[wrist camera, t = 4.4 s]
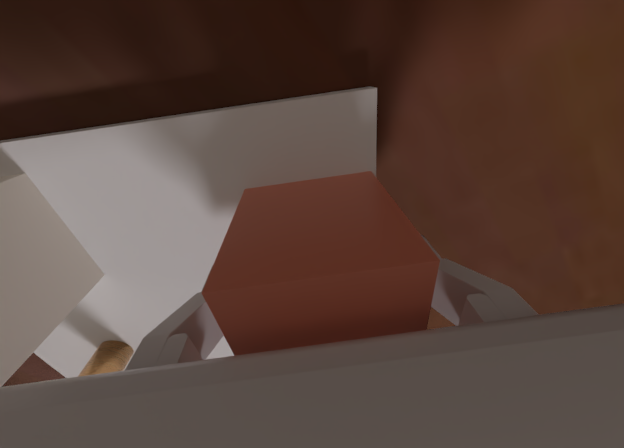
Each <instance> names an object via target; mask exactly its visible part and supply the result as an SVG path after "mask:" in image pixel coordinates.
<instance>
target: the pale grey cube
mask: <svg viewBox="0 0 624 448" xmlns="http://www.w3.org/2000/svg"><path fill="white" fill-rule="evenodd" d="M104 275H105V274H104V273H103V272H102V270H101V269H100V268H99V267H98V265H97V264H96V263H95V262H94V260H93V259H92V258H91V256H90V255H89V254H88V253H87V251H86V250H85V249H84V247H83V246H82V245H81V244H80V242H79V241H78V240H77V238H76V237H75V236H74V235H73V233H72V232H71V231H70V229H69V228H68V227H67V226H66V224H65V223H64V222H63V220H62V219H61V218H60V217H59V215H58V214H57V213H56V212H55V210H54V209H53V208H52V206H51V205H50V204H49V203H48V201H47V200H46V199H45V197H44V196H43V195H42V194H41V192H40V191H39V190H38V188H37V187H36V186H35V185H34V183H33V182H32V181H31V179H30V178H29V177H28V176H27V174H26V173H23V174H16V175H9V176H2V177H0V387H2V386H3V384H4V383H5V382H6V381H7V380H8V379H9V378H10V377H11V376H12V375H13V374H14V373H15V372H16V370H17V369H18V368H19V367H20V366H21V365H22V364H23V363H24V362H25V361H26V360H27V359H28V357H29V356H30V355H31V354H32V353H33V352H34V351H35V350H36V349H37V348H38V347H39V346H40V344H41V343H42V342H43V341H44V340H45V339H46V338H47V337H48V336H49V335H50V334H51V333H52V331H53V330H54V329H55V328H56V327H57V326H58V325H59V324H60V323H61V322H62V321H63V320H64V319H65V317H66V316H67V315H68V314H69V313H70V312H71V311H72V310H73V309H74V308H75V307H76V306H77V304H78V303H79V302H80V301H81V300H82V299H83V298H84V297H85V296H86V295H87V294H88V293H89V291H90V290H91V289H92V288H93V287H94V286H95V285H96V284H97V283H98V282H99V281H100V280H101V278H102V277H103V276H104Z"/></svg>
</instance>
